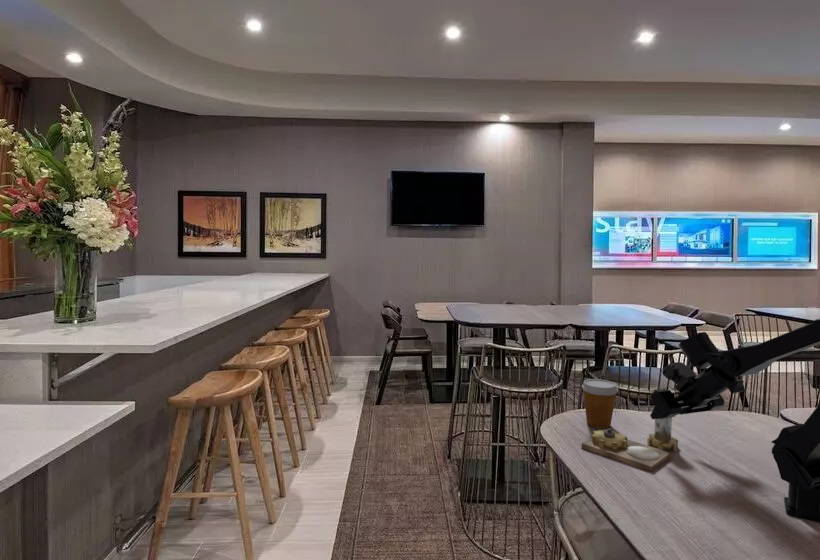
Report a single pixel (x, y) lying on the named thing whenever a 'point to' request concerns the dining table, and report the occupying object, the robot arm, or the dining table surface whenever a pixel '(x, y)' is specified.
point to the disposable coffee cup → (599, 402)
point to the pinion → (663, 436)
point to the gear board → (625, 449)
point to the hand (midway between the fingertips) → (665, 415)
